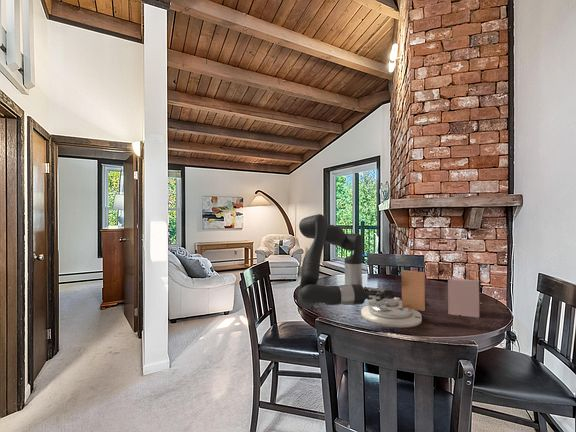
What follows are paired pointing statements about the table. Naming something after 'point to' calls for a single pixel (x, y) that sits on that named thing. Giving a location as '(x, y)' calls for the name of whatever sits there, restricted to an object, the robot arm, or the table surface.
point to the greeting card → (463, 297)
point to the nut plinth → (387, 322)
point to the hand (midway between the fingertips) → (392, 292)
